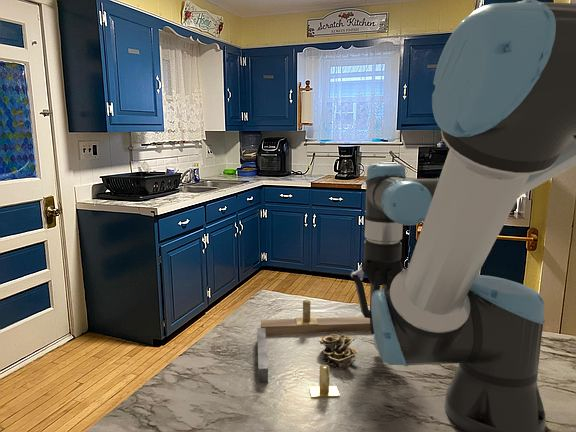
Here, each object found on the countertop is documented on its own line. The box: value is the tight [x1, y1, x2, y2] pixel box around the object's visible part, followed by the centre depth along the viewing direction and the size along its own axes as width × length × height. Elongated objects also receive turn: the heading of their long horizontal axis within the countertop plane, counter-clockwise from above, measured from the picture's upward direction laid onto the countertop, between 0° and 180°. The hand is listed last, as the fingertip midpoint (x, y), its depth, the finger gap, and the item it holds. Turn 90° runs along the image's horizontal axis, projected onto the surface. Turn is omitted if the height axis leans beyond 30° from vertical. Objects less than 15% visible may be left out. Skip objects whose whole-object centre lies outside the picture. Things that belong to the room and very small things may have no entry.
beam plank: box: [260, 299, 371, 336], centre depth 107 cm, size 4×30×7 cm, turn 94°
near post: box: [309, 364, 340, 399], centre depth 81 cm, size 3×5×5 cm, turn 94°
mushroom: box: [318, 333, 358, 370], centre depth 94 cm, size 12×8×4 cm, turn 174°
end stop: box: [256, 327, 269, 384], centre depth 93 cm, size 18×2×3 cm, turn 5°
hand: (378, 347), depth 95 cm, fingers closed
